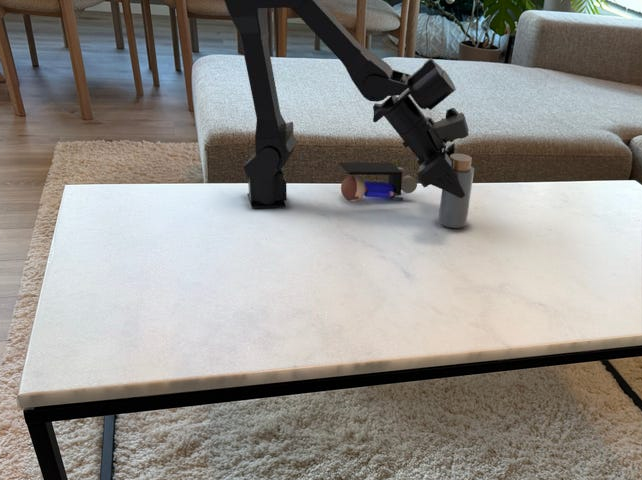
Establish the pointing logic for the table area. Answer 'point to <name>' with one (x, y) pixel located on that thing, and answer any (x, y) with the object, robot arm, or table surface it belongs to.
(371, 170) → the figurine character
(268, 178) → the robot arm
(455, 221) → the pepper mill
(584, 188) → the table surface
